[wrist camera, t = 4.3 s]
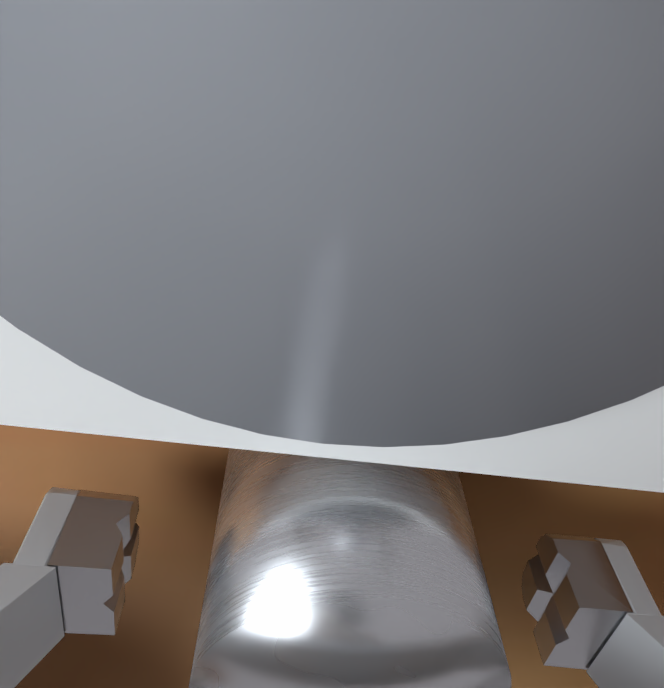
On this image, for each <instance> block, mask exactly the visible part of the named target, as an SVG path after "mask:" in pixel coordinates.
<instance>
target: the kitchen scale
mask: <svg viewBox="0 0 664 688" xmlns="http://www.w3.org/2000/svg"><path fill="white" fill-rule="evenodd" d="M0 425H10V426H20V427H29V428H39V429H49V430H59V431H68V432H78V433H88V434H98V435H107V436H117V437H127V438H137V439H146V440H156V441H166V442H176V443H185V444H195V445H205V446H215V447H224V448H234V449H244V450H253V451H263V452H273V453H283V454H292V455H302V456H312V457H322V458H331V459H341V460H351V461H361V462H370V463H380V464H390V465H400V466H409V467H419V468H429V469H439V470H448V471H458V472H468V473H478V474H487V475H497V476H507V477H517V478H526V479H536V480H546V481H556V482H565V483H575V484H585V485H595V486H604V487H614V488H624V489H634V490H643V491H653V492H663V493H664V0H0Z"/></svg>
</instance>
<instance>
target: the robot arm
mask: <svg viewBox="0 0 664 688" xmlns="http://www.w3.org/2000/svg"><path fill="white" fill-rule="evenodd" d="M138 512H139V500H138V497H136V496H128V495H120V494H111V493H103V492H94V491H86V490H75V489H66V488H57V487H52V488H51V489H50V490H49V491H48V492H47V493H46V495H45V497H44V499H43V501H42V503H41V505H40V507H39V509H38V511H37V513H36V516H35V518H34V520H33V522H32V524H31V526H30V528H29V530H28V532H27V534H26V536H25V538H24V541H23V543H22V545H21V547H20V549H19V551H18V553H17V555H16V557H15V559H14V561H13V563H3V564H1V565H0V688H14V687H15V686H16V685H17V684H18V683H19V682H20V681H21V680H22V679H23V678H24V677H25V676H26V675H27V674H28V673H29V672H30V671H31V670H32V669H33V668H34V667H35V666H36V665H37V664H38V663H39V662H40V661H41V660H42V659H43V658H44V657H45V656H46V655H47V654H48V653H49V652H50V651H51V649H52V648H53V647H54V646H55V645H56V644H57V643H58V642H59V641H60V640H61V639H62V638H63V637H64V633H77V634H101V635H115V633H116V630H117V626H118V623H119V619H120V616H121V613H122V609H123V606H124V602H125V583H127V582H128V581H129V580H130V579H131V578H132V574H133V570H134V567H135V562H136V557H137V552H138V545H139V526H138V525H137V524H136V523H135V522H136V519H137V515H138ZM536 548H537V551H538V555H537V556H535V557H533V558H532V559H530V560H528V562H527V564H526V566H525V568H524V571H523V576H522V595H523V600H524V603H525V607H526V610H527V611H528V612H529V613H530V614H531V615H532V616H533V617H534V618H535V619H536V620H537V624H536V626H535V628H534V631H533V633H534V636H535V639H536V643H537V646H538V649H539V652H540V655H541V659H542V662H543V665H546V666H556V667H566V668H576V669H587V671H586V672H587V673H588V675H589V676H590V677H591V678H592V680H593V681H594V682H595V683H596V684H597V686H598V687H599V688H664V616H662V615H661V613H660V611H659V609H658V607H657V605H656V603H655V601H654V599H653V597H652V595H651V593H650V591H649V589H648V587H647V586H646V584H645V582H644V580H643V578H642V576H641V574H640V572H639V570H638V568H637V566H636V564H635V562H634V560H633V558H632V556H631V554H630V552H629V550H628V548H627V546H626V545H625V544H624V543H623V542H622V541H621V540H612V539H601V538H592V537H582V536H569V535H557V534H544V535H543V536H541V537H540V539H539V541H538V542H537V544H536Z"/></svg>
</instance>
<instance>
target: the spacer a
mask: <svg viewBox="0 0 664 688" xmlns="http://www.w3.org/2000/svg"><path fill="white" fill-rule="evenodd" d="M189 688H511V674H510V670H509V666H508V662H507V658H506V655H505V651H504V647H503V643H502V639H501V635H500V631H499V627H498V624H497V620H496V616H495V612H494V608H493V604H492V600H491V596H490V593H489V589H488V585H487V581H486V577H485V573H484V569H483V565H482V562H481V558H480V554H479V550H478V546H477V542H476V538H475V534H474V531H473V527H472V523H471V519H470V515H469V511H468V507H467V503H466V500H465V496H464V492H463V488H462V484H461V480H460V476H459V472H458V471H448V470H439V469H429V468H419V467H409V466H400V465H390V464H380V463H370V462H361V461H351V460H341V459H331V458H322V457H312V456H302V455H292V454H283V453H273V452H263V451H253V450H244V449H234V448H229V452H228V458H227V464H226V470H225V476H224V482H223V488H222V493H221V499H220V505H219V511H218V517H217V523H216V529H215V535H214V541H213V547H212V553H211V559H210V565H209V571H208V576H207V582H206V588H205V594H204V600H203V606H202V612H201V618H200V624H199V630H198V636H197V642H196V648H195V654H194V659H193V665H192V671H191V677H190V683H189Z"/></svg>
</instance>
